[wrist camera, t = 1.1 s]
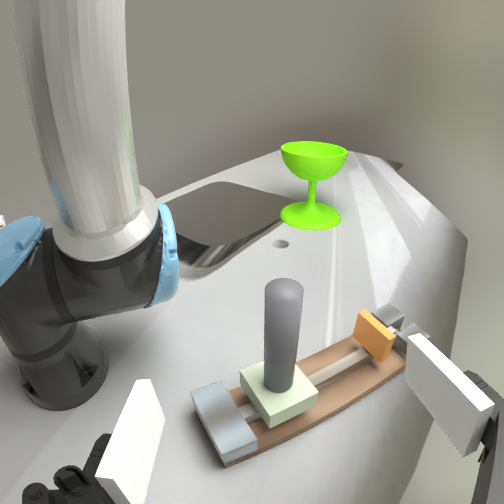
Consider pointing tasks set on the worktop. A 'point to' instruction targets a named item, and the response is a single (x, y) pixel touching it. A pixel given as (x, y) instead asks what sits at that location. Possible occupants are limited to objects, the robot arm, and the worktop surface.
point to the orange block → (374, 335)
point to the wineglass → (312, 182)
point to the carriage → (280, 358)
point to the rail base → (326, 394)
